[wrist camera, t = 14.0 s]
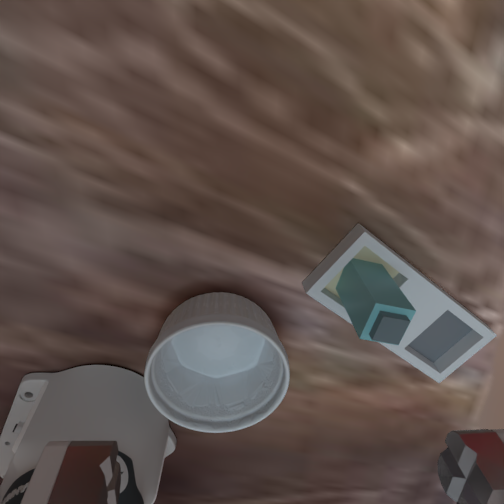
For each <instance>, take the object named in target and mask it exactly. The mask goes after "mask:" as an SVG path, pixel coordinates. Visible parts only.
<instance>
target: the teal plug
mask: <svg viewBox="0 0 504 504" xmlns="http://www.w3.org/2000/svg"><path fill="white" fill-rule="evenodd" d="M336 290H337V292H338V295H339V297H340V299H341V301H342V303H343V305H344V307H345V309H346V311H347V313H348V315H349V318H350V320H351V322H352V324H353V326H354V328H355V330H356V332H357V334H358V336H359V338H360V339H365V340H370V341H376V342H382V343H387V344H393V345H399V343H400V341H401V340H402V338H403V336H404V334H405V332H406V330H407V328H408V326H409V324H410V322H411V320H412V318H413V316H414V314H415V312H416V310H415V309H414V307H413V306H412V304H411V303H410V302H409V300H408V299H407V298H406V296H405V295H404V294H403V292H402V291H401V289H400V288H399V287H398V285H397V284H396V283H395V281H394V280H393V279H392V277H391V276H390V274H389V273H388V272H387V270H386V269H385V268H384V266H383V265H382V264H378V263H374V262H369V261H364V260H360V259H355V258H352V259H351V260H350V261H349V263H348V264H347V265H346V266H345V267H344V269H343V271H342V274H341V276H340V279H339V281H338V283H337V286H336Z"/></svg>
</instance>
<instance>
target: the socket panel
mask: <svg viewBox="0 0 504 504" xmlns="http://www.w3.org/2000/svg"><path fill="white" fill-rule="evenodd" d="M352 258H355V259H360V260H364V261H369V262H374V263H378V264H382V265H383V266H384V268H385V269H386V270H387V272H388V273H389V274H390V276H391V277H392V279H393V280H394V281H395V283H396V284H397V285H398V287H399V288H400V289H401V291H402V292H403V294H404V295H405V296H406V298H407V299H408V300H409V302H410V303H411V304H412V306H413V307H414V309H415V310H416V312H415V314H414V316H413V318H412V320H411V322H410V324H409V326H408V328H407V330H406V332H405V334H404V336H403V338H402V340H401V341H400V343H399V345H393V344H387V343H382V342H379V343H380V344H382V345H383V346H385V347H386V348H388V349H389V350H391V351H392V352H394V353H395V354H397V355H398V356H400V357H401V358H403V359H404V360H406V361H407V362H409V363H410V364H411V365H413V366H414V367H416V368H417V369H419V370H420V371H422V372H423V373H425V374H426V375H428V376H429V377H431V378H432V379H434V380H435V381H437V382H438V383H440V382H441V381H442V380H444V379H445V378H446V377H447V376H449V375H450V374H451V373H452V372H453V371H455V370H456V369H457V368H458V367H459V366H461V365H462V364H463V363H464V362H465V361H467V360H468V359H469V358H470V357H471V356H473V355H474V354H475V353H476V352H478V351H479V350H480V349H481V348H482V347H484V346H485V345H486V344H487V343H488V342H490V341H491V340H492V339H493V338H494V337H496V336H497V335H496V334H495V333H494V332H493V331H492V330H491V329H490V328H489V327H488V326H487V324H485V323H484V322H483V321H482V320H480V319H479V318H478V317H477V316H475V315H474V314H473V313H471V312H470V311H469V310H468V309H466V308H465V307H464V306H463V305H461V304H460V303H459V302H458V301H456V300H455V299H454V298H453V297H451V296H450V295H449V294H447V293H446V292H445V291H444V290H442V289H441V288H440V287H439V286H437V285H436V284H435V283H434V282H432V281H431V280H430V279H429V278H427V277H426V276H425V275H424V274H422V273H421V272H420V271H418V270H417V269H416V268H415V267H413V266H412V265H411V264H410V263H408V262H407V261H406V260H405V259H403V258H402V257H401V256H400V255H398V254H397V253H396V252H394V251H393V250H392V249H391V248H389V247H388V246H387V245H386V244H384V243H383V242H382V241H381V240H379V239H378V238H377V237H376V236H374V235H373V234H372V233H370V232H369V231H368V230H367V229H365V228H364V227H363V226H362V225H360V224H359V223H358V224H357V225H356V226H355V227H354V228H353V229H352V230H351V231H350V232H349V233H348V234H347V235H346V236H345V238H344V239H343V240H342V241H341V242H340V243H339V244H338V245H337V246H336V247H335V248H334V249H333V250H332V251H331V252H330V253H329V255H328V256H327V257H326V258H325V259H324V260H323V261H322V262H321V263H320V264H319V265H318V266H317V267H316V268H315V269H314V270H313V272H312V273H311V274H310V275H309V276H308V277H307V278H306V279H305V280H304V281H303V282H302V284H303V286H304V289H305V292H306V294H308V295H309V296H311V297H312V298H314V299H315V300H317V301H318V302H320V303H321V304H322V305H324V306H325V307H327V308H328V309H330V310H331V311H333V312H334V313H336V314H337V315H339V316H340V317H342V318H343V319H345V320H346V321H348V322H349V323H351V324H352V322H351V320H350V318H349V315H348V313H347V311H346V309H345V307H344V305H343V303H342V301H341V299H340V297H339V295H338V292H337V290H336V286H337V283H338V281H339V279H340V276H341V274H342V271H343V269H344V267H345V266H346V265H347V264H348V263H349V261H350V260H351V259H352ZM352 325H353V324H352Z"/></svg>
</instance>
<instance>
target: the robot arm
mask: <svg viewBox="0 0 504 504" xmlns="http://www.w3.org/2000/svg"><path fill="white" fill-rule="evenodd" d="M30 392H31V393H30ZM176 442H177V440H176V437H175V435H174V433H173V432H172V430H171V429H170V427H169V419H167V418H166V417H165V416H164V415H162V414H161V413H160V412H159V411H158V410H157V409H156V407H155V406H154V405H153V404H152V402H151V400H150V399H149V397H148V394H147V392H146V388H145V384H144V377H142V376H140V375H139V374H136V373H134V372H132V371H129V370H126V369H123V368H120V367H115V366H108V365H85V366H79V367H75V368H71V369H68V370H65V371H61V372H57V373H30V374H27V375H25V376H24V377H23V378H22V380H21V383H20V386H19V388H18V391H17V393H16V396H15V399H14V401H13V404H12V407H11V409H10V412H9V415H8V417H7V420H6V423H5V425H4V428H3V431H2V433H1V436H0V477H2V478H3V481H2V483H1V485H0V504H153V503H154V502H155V500H156V497H157V492H158V487H159V483H160V478H161V473H162V468H163V463H164V458H165V457H167V456H168V455H170V454H171V453H172V452H173V451H174V450H175V447H176ZM445 442H446V444H447V446H448V448H447V449H446V450H444V451H443V452H442V453H441V454H440V457H439V460H438V475H439V478H440V481H441V484H442V486H443V488H444V490H445V492H446V494H447V495H448V496H449V497H451V498H452V499H453V500H454V501H455V502H457V504H504V429H497V430H496V429H495V430H488V429H481V430H457V431H451V432H450V433H448V435H447V437H446V440H445Z"/></svg>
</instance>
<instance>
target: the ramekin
mask: <svg viewBox="0 0 504 504" xmlns="http://www.w3.org/2000/svg"><path fill="white" fill-rule="evenodd" d="M289 380H290V369H289V362H288V357H287V354H286V351H285V349H284V347H283V345H282V343H281V342H280V340H279V338H278V336H277V333H276V331H275V328H274V326H273V324H272V322H271V320H270V318H269V317H268V316H267V314H266V313H265V312H264V311H263V310H262V309H261V308H260V307H259V306H258V305H256V304H255V303H254V302H252V301H250V300H249V299H247V298H244V297H242V296H239V295H236V294H231V293H224V292H218V293H217V292H213V293H205V294H203V295H198V296H196V297H192V298H190V299H189V300H186V301H184V302H183V303H182V304H180V305H179V306H178V307H177V308H176V309H174V310H173V311H172V313H171V314H170V315H169V316H168V317H167V319H166V321H165V322H164V324H163V326H162V328H161V330H160V333H159V335H158V338H157V340H156V341H155V342H154V344H153V345H152V347H151V349H150V351H149V354H148V357H147V360H146V365H145V372H144V384H145V388H146V392H147V394H148V397H149V399H150V400H151V402H152V404H153V405H154V406H155V407H156V409H157V410H158V411H159V412H160V413H161V414H162V415H164V416H165V417H166V418H167V419H169V420H171V421H172V422H174V423H176V424H178V425H180V426H183V427H185V428H188V429H191V430H196V431H201V432H210V433H221V432H231V431H236V430H240V429H243V428H246V427H249V426H252V425H254V424H256V423H258V422H260V421H261V420H263V419H264V418H266V417H267V416H268V415H270V414H271V413H272V412H273V411H274V410H275V409H276V408H277V407H278V405H279V404H280V403H281V401H282V400H283V398H284V396H285V394H286V392H287V389H288V386H289Z"/></svg>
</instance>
